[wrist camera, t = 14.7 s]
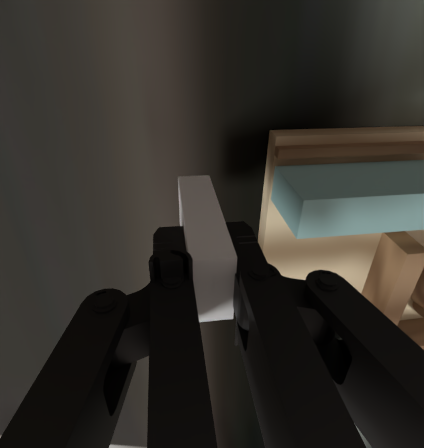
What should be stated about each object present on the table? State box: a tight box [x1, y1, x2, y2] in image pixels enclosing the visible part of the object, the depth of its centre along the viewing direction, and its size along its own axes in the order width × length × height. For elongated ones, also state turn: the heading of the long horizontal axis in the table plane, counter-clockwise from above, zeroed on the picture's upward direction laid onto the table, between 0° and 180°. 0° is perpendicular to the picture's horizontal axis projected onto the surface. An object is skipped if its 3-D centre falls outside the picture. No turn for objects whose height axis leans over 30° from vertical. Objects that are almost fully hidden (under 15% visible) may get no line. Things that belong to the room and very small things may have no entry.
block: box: [271, 160, 424, 239], centre depth 17 cm, size 2×9×4 cm, turn 89°
